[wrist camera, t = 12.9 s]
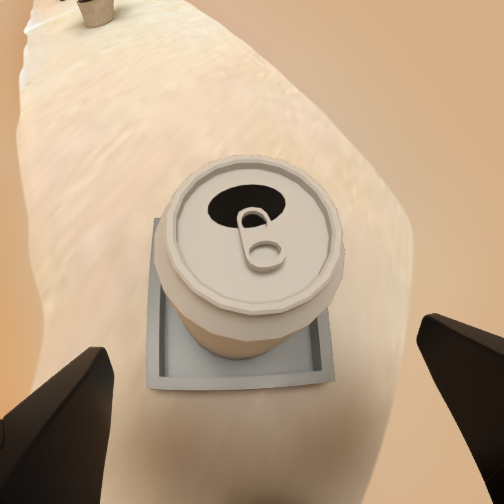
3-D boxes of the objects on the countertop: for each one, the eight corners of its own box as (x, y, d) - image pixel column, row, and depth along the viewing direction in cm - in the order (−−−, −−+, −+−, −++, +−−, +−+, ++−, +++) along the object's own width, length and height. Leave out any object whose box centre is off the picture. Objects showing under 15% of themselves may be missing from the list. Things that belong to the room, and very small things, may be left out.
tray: (322, 381, 20) (334, 381, 18) (154, 388, 19) (146, 388, 17) (306, 233, 25) (314, 218, 23) (159, 234, 23) (154, 217, 21)
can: (273, 247, 23) (317, 130, 12) (303, 344, 21) (392, 297, 10) (174, 268, 22) (136, 156, 11) (196, 371, 19) (164, 359, 8)
